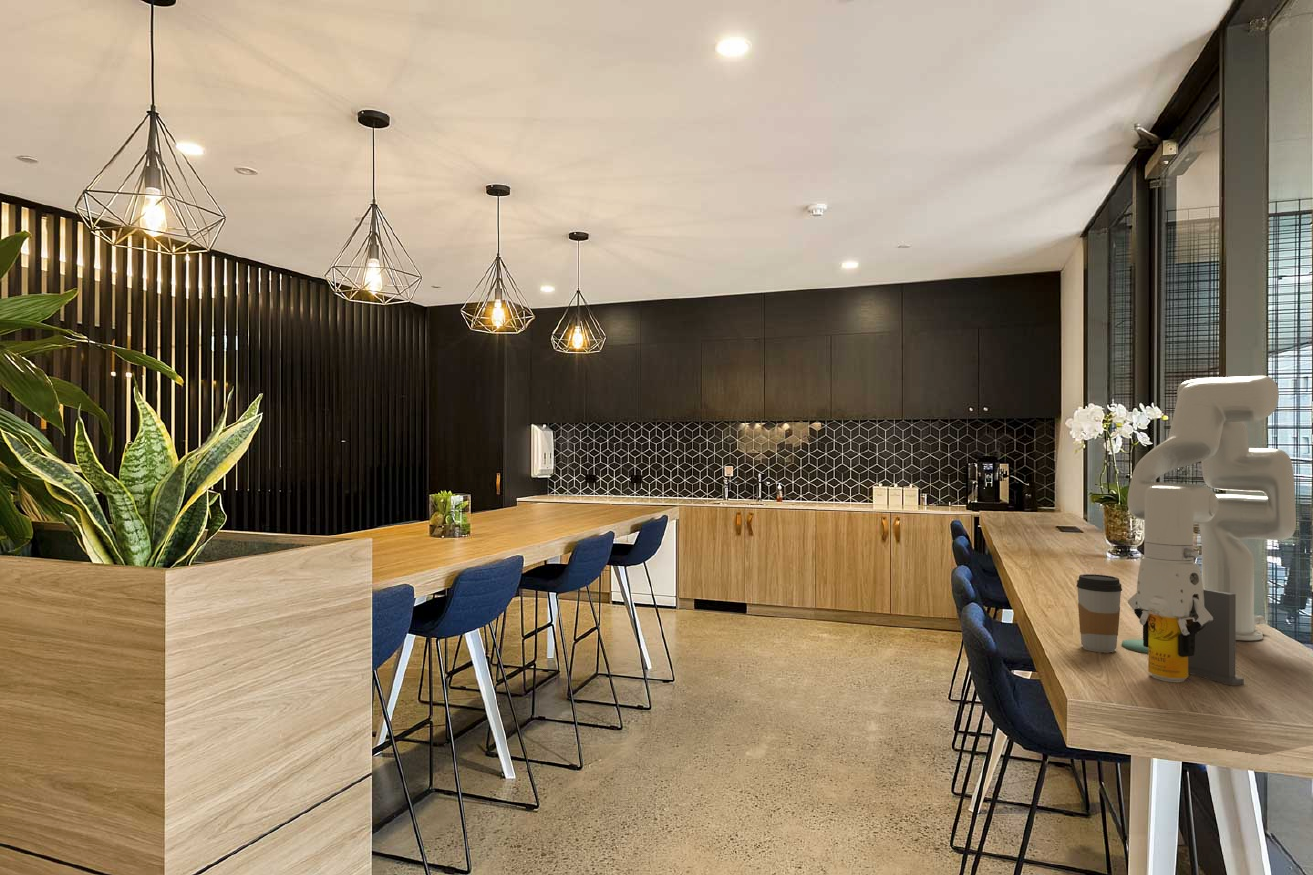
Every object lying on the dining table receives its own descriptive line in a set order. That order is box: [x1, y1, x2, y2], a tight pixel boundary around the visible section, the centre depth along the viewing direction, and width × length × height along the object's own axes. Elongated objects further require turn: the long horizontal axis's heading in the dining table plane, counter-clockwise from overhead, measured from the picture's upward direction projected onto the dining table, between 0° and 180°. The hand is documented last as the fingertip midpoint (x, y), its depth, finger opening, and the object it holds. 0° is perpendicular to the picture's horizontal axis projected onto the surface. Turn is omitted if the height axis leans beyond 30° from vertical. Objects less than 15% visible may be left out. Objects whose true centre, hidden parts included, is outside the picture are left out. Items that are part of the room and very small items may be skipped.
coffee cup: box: [1076, 573, 1123, 654], centre depth 161 cm, size 8×8×15 cm
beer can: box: [1147, 596, 1189, 683], centre depth 141 cm, size 6×6×15 cm
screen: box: [1188, 588, 1245, 687], centre depth 144 cm, size 3×15×16 cm, turn 19°
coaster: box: [1121, 638, 1148, 654], centre depth 161 cm, size 10×10×1 cm
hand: (1168, 650), depth 141 cm, fingers closed on beer can, 6 cm apart
